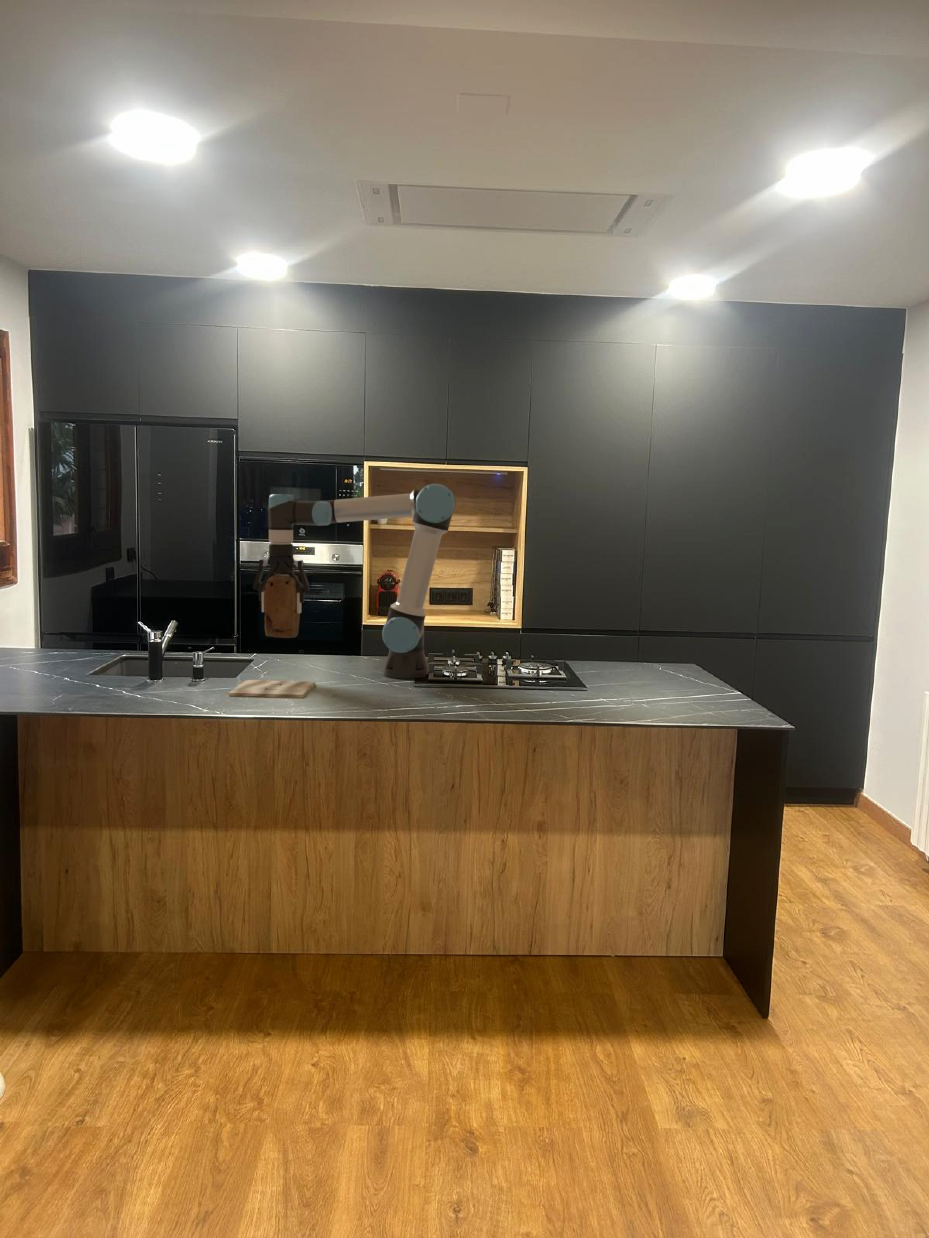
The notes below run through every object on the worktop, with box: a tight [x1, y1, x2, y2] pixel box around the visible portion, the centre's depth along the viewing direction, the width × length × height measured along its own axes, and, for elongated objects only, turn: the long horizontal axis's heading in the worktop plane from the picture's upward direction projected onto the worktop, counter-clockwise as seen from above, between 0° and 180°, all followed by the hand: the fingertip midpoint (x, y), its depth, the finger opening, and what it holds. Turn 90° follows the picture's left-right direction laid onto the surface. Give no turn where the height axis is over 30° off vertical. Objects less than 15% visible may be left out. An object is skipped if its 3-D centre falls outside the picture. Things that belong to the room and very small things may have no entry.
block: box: [264, 573, 301, 639], centre depth 269 cm, size 11×8×20 cm
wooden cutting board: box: [228, 679, 316, 699], centre depth 257 cm, size 22×18×1 cm
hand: (281, 612), depth 269 cm, fingers closed on block, 11 cm apart
